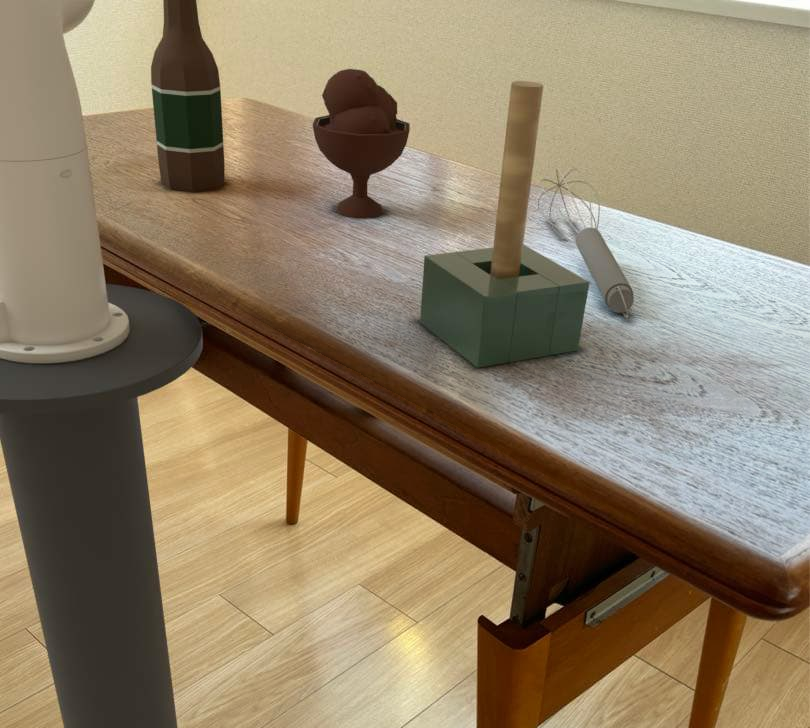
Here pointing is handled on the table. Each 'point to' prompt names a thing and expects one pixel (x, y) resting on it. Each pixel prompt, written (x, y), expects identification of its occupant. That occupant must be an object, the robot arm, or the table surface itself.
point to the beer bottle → (187, 103)
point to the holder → (502, 306)
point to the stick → (516, 178)
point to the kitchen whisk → (597, 256)
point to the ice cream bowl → (359, 134)
